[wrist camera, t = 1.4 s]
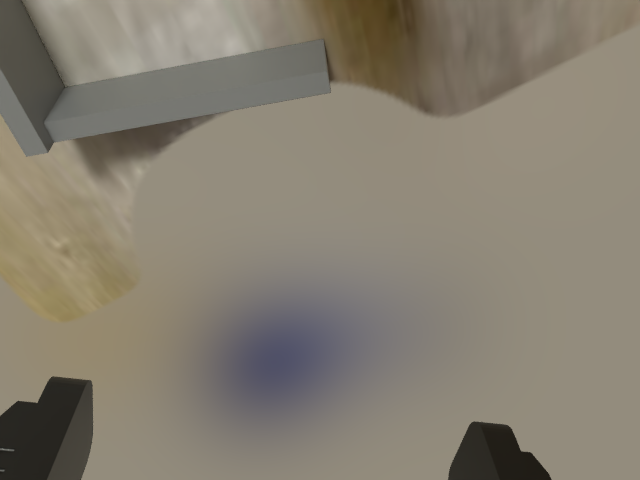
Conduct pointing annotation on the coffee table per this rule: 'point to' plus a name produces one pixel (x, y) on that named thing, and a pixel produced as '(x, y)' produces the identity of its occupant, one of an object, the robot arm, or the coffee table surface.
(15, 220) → the coffee table surface
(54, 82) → the box
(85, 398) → the robot arm
